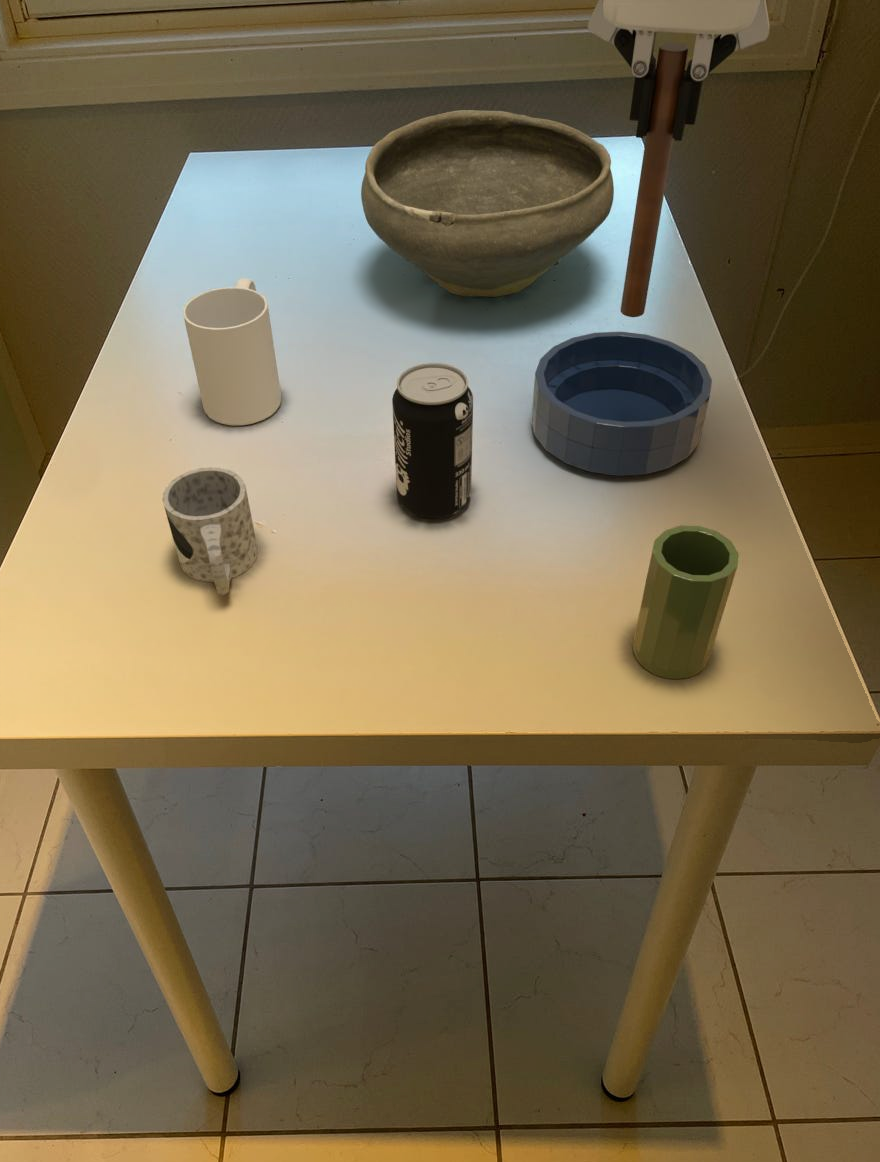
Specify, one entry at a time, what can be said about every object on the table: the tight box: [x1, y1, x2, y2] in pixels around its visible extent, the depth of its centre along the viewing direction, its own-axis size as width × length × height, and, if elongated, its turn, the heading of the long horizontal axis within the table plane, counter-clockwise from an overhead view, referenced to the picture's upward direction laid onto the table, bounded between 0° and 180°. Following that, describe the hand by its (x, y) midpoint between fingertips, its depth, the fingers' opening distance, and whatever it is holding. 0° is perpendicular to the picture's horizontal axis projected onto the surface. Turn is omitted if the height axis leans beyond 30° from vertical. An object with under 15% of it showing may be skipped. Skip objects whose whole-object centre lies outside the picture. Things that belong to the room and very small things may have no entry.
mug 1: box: [182, 277, 282, 426], centre depth 94 cm, size 12×8×10 cm, turn 172°
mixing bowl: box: [531, 331, 713, 477], centre depth 89 cm, size 16×16×6 cm
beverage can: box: [391, 362, 474, 520], centre depth 81 cm, size 7×7×12 cm
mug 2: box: [161, 466, 259, 595], centre depth 78 cm, size 10×7×7 cm, turn 13°
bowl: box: [360, 109, 615, 298], centre depth 108 cm, size 28×28×14 cm
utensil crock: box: [632, 525, 740, 680], centre depth 69 cm, size 6×6×10 cm
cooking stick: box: [620, 42, 689, 318], centre depth 75 cm, size 2×2×20 cm
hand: (660, 130), depth 71 cm, fingers closed on cooking stick, 2 cm apart
